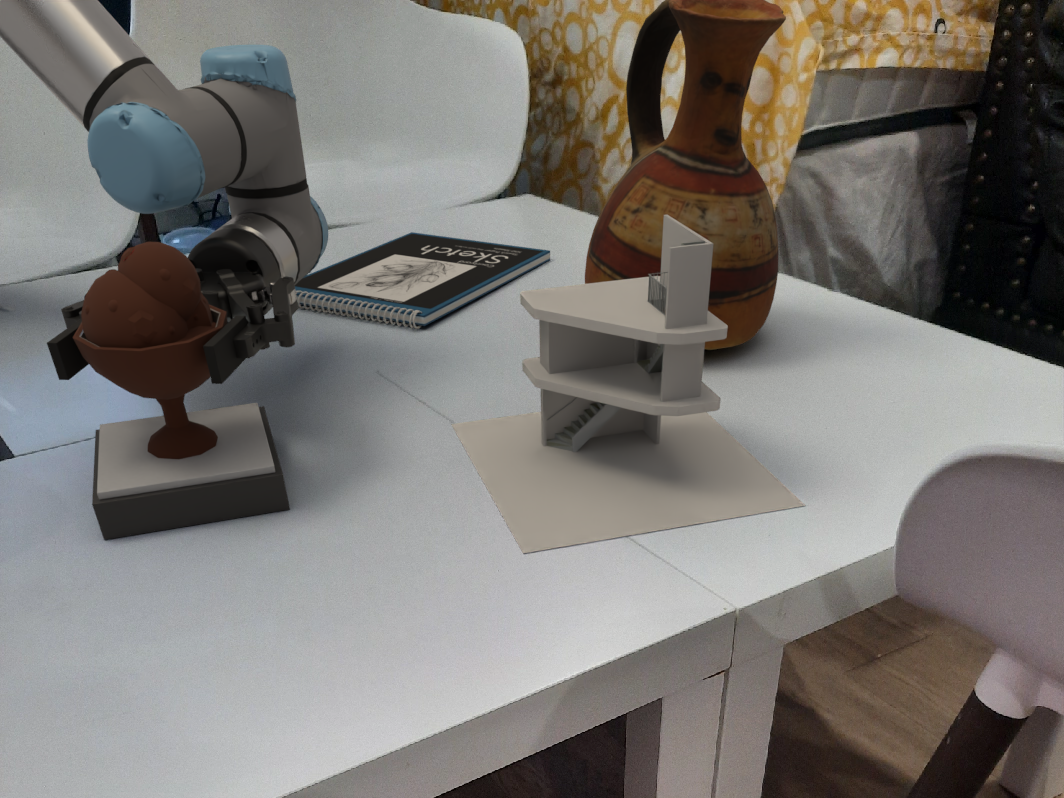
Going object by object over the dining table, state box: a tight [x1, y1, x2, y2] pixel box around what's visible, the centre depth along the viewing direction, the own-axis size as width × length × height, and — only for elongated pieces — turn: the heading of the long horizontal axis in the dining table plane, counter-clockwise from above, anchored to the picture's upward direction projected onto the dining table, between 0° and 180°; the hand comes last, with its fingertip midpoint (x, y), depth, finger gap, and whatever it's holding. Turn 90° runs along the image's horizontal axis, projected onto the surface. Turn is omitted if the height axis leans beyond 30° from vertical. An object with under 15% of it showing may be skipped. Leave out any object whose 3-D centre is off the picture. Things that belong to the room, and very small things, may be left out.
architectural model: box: [451, 215, 806, 554], centre depth 79 cm, size 23×24×18 cm
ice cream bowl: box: [73, 241, 227, 459], centre depth 76 cm, size 11×11×15 cm
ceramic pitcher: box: [584, 0, 787, 351], centre depth 98 cm, size 20×20×30 cm
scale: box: [91, 402, 291, 541], centre depth 82 cm, size 14×14×4 cm
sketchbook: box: [295, 231, 551, 330], centre depth 123 cm, size 22×30×2 cm
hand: (134, 363), depth 72 cm, fingers closed on ice cream bowl, 11 cm apart
